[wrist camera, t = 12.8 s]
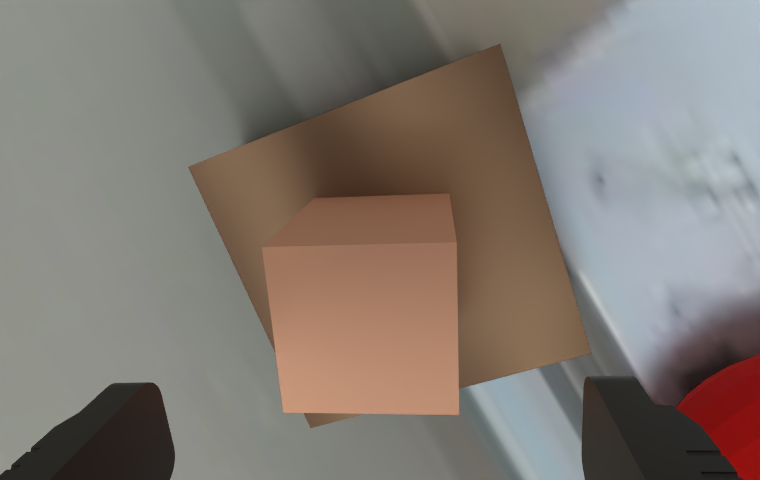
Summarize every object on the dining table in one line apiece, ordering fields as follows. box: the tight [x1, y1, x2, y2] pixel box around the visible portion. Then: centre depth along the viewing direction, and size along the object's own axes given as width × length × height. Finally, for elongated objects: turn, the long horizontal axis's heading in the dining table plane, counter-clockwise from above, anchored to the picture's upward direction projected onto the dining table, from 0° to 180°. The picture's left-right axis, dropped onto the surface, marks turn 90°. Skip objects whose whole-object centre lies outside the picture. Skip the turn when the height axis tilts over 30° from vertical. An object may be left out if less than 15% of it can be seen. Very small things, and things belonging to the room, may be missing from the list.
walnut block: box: [188, 44, 591, 428], centre depth 22 cm, size 12×12×6 cm
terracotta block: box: [262, 193, 459, 415], centre depth 16 cm, size 5×5×6 cm
